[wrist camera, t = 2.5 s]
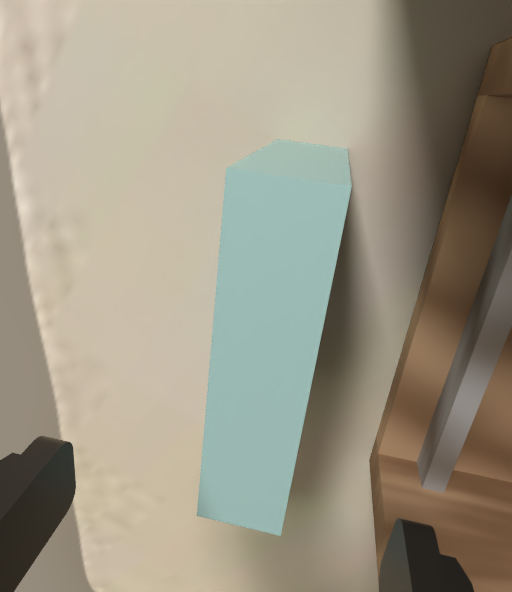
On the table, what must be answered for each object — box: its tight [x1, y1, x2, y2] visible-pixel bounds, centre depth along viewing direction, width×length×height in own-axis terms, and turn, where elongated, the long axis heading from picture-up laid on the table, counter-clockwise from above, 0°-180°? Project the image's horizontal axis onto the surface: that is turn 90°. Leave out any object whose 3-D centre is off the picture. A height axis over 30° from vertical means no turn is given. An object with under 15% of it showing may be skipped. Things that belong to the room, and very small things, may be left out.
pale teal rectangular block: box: [197, 139, 352, 536], centre depth 20 cm, size 14×4×11 cm, turn 173°
